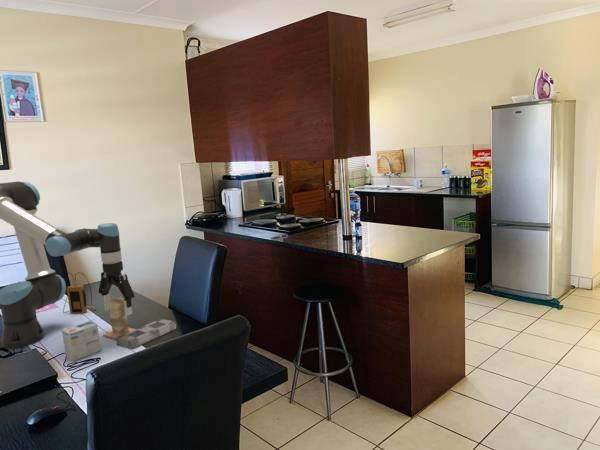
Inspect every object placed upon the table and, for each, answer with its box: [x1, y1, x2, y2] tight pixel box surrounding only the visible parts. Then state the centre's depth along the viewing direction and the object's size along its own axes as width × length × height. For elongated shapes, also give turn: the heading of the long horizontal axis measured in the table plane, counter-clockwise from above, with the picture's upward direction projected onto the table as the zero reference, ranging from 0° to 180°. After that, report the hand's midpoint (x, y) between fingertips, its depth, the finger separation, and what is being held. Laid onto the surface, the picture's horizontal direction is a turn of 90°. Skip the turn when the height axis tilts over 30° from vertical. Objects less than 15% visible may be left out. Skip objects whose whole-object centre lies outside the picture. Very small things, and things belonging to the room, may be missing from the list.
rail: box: [115, 318, 177, 350], centre depth 182 cm, size 22×9×3 cm, turn 147°
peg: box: [109, 296, 130, 335], centre depth 186 cm, size 4×4×14 cm
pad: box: [102, 327, 136, 341], centre depth 187 cm, size 10×10×1 cm
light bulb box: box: [61, 320, 102, 362], centre depth 169 cm, size 11×7×11 cm, turn 141°
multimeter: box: [62, 272, 97, 314], centre depth 219 cm, size 15×10×20 cm
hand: (118, 312), depth 186 cm, fingers open, 13 cm apart
